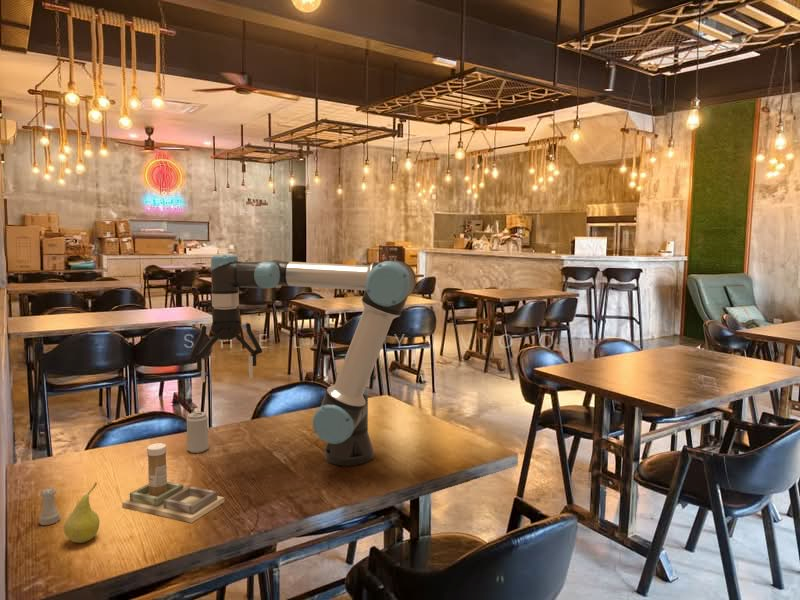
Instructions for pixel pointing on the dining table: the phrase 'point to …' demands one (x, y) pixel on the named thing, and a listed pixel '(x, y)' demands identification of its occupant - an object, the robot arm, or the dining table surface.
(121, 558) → the dining table surface
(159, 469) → the sprinkles bottle
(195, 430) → the beverage can
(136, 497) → the board
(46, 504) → the rook chess piece
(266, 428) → the dining table surface
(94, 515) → the fruit
